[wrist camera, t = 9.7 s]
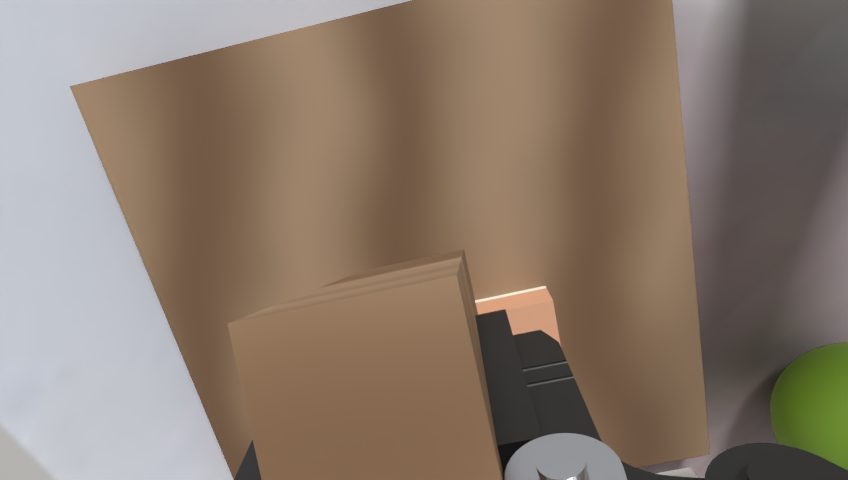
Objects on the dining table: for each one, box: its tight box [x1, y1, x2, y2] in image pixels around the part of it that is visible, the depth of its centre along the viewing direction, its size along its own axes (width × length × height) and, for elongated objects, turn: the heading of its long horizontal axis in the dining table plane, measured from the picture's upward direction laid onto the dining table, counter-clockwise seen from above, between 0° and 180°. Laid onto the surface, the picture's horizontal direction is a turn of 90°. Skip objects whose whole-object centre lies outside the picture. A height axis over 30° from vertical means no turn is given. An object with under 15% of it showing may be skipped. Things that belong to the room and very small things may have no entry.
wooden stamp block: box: [228, 249, 699, 480], centre depth 9 cm, size 6×10×7 cm, turn 102°
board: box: [70, 0, 710, 479], centre depth 20 cm, size 18×18×2 cm
